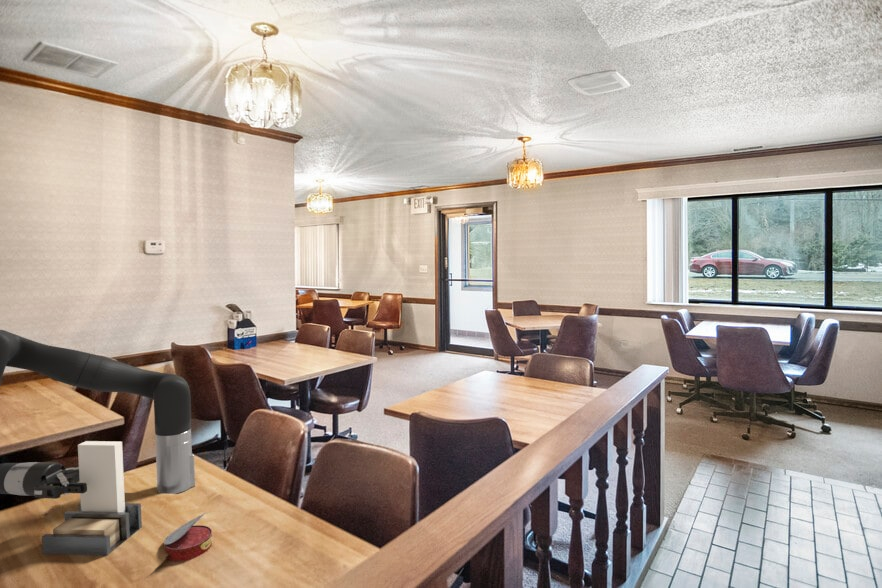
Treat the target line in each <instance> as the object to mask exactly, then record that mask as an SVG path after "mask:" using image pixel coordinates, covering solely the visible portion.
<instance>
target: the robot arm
mask: <svg viewBox="0 0 882 588" xmlns="http://www.w3.org/2000/svg"><path fill="white" fill-rule="evenodd" d="M6 367H9V368H15V369H22V370H27V371H31V372H35V373H37V374H40V375H43V376H45V377H48V378H50V379H52V380H55V381H56V382H60V383H63V384H66V385H68V386H72V387H75V388H76V387H77V388H80V389H84V390H89V391H94V392H102V393H103V392H104V393H124V394H125V393H127V394H133V395H138V396H141V397H144V398H147V399H151V400H153V411H154V412H153V414H154V416H153V417H154V434H155V435H154V436H155V437H154V438H155V460H156V462H155V463H156V482H157V483H156V486H157V487H156V489H157V492H158V494H166V495H167V494H168V495H169V494H171V495H172V494H174V495H175V494H180V493H182V492H186V491H187V490H190V489H191V488H193V487H195V486H196V478H195V475H196V474H195V473H196V471H195V455H194V453H193V451H192V426H191V425H192V404H191V403H192V401H191V389H190V387H189V384H188V381H187V380H186V379H184V377H182V376H181V375H179V374H178V375H177V374H173V373H165V372H159V371H153V370H148V369H143V368H140V367H137V366H134V365H130V364H127V363H125V362H121V361H118V360H115V359H112V358H109V357H105V356H102V355H98V354H94V353H90V352H85V351H81V350H78V349H77V350H76V349H72V348H64V347H60V346H54V345H49V344H45V343H42V342H38V341H35V340H32V339H28V338H26V337H23V336H20V335H17V334H16V333H13V332H10V331H7V330H4V329H0V385H1V384H2V379H3V376H4V373H5V370H6ZM85 492H87V484H86V483H80V478H79V463H77V467H68V468H67V467H64V465H63V464H61V462H53V461H51V462H49V461H47V462H45V461H43V462H42V461H41V462H40V461H39V462H37V461H34V462H33V461H32V462H31V461H30V462H29V461H28V462H4V463H0V495H1V494H2V495H17V496H34V498H38V499H54V500H55V499H56V500H57V499H59V498H61V496H62V495H63V496H66V495H70V494H80V493H85Z"/></svg>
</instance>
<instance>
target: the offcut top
mask: <svg viewBox="0 0 882 588" xmlns="http://www.w3.org/2000/svg"><path fill="white" fill-rule="evenodd" d="M118 530H119V519H77V518H69V519H68V520H66V521H65V520H64V521H63V522H62V523H60V524H58V525H56V526H55V527H54V528H52V534H67V535H110V536H112V535H113V534H114V533H116V532H117V531H118Z"/></svg>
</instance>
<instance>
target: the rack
mask: <svg viewBox="0 0 882 588" xmlns="http://www.w3.org/2000/svg"><path fill="white" fill-rule="evenodd" d="M69 518H77V519H119V536H120V540H119V541H118V542H117V543H115V544H114V545H113V546H112V547H110V535H67V534H53V533H45V534H43V535H42V536H41V549H42V550H41V551H42V555H64V556H65V555H67V556H70V555H71V556H73V555H75V556H103V557H104V556H106V557H107V556H109V555H110V554H111V553H113V551H115V550H117V548H119V547H120V546H121V545H122V544H124V542H126V541H127V540H128V539H130V538H131V537H132V536H133V535H134V534H136V533H137V532H139V530H140V529H142V527H143V526H142V524H143V521H142V503H140V502H139V503H138V502H136V503H135V502H134V503H131V502H125V512H84V511H81V502H79V504H78V510H77V511H76V510H75V511H73V510H67V511H65V512H64V518H63V519H64V521H66V520H68V519H69Z"/></svg>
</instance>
